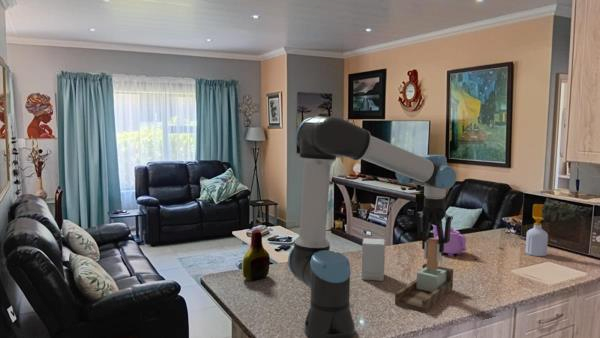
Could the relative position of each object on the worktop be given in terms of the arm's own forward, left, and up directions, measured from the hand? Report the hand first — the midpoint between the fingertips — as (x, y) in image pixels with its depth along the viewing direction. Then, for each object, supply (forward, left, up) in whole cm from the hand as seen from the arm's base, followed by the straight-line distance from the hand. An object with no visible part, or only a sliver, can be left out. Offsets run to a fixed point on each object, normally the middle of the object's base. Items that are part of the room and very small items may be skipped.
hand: (432, 259), depth 167 cm
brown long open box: (-6, 0, -13) cm, 14 cm away
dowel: (0, 0, -3) cm, 3 cm away
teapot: (+54, +13, -13) cm, 57 cm away
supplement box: (+1, +25, -13) cm, 28 cm away
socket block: (0, 0, -11) cm, 11 cm away
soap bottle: (+79, -21, -13) cm, 83 cm away
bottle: (-30, +61, -13) cm, 69 cm away
